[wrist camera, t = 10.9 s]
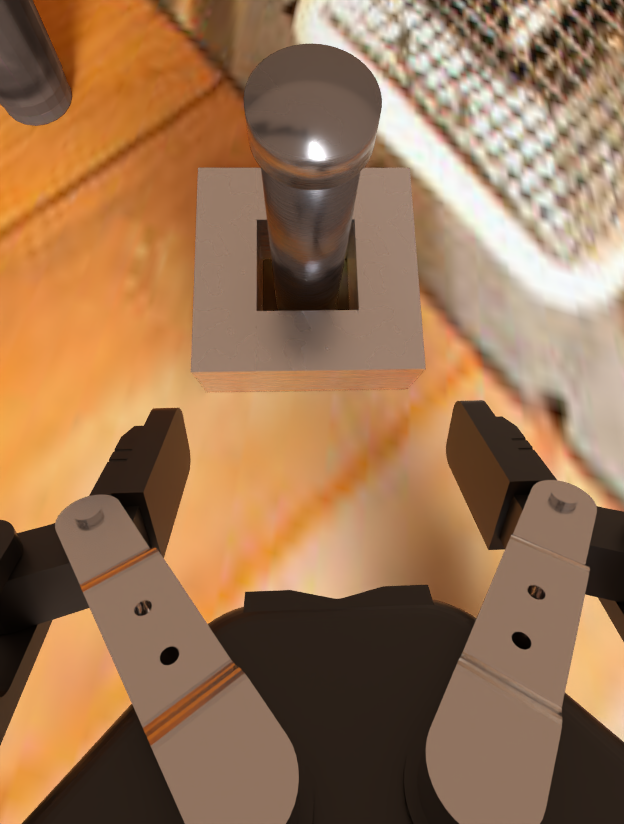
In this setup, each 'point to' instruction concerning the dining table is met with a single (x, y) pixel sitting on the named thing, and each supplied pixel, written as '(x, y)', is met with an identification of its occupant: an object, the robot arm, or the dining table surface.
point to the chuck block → (305, 330)
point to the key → (310, 163)
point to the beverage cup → (29, 67)
